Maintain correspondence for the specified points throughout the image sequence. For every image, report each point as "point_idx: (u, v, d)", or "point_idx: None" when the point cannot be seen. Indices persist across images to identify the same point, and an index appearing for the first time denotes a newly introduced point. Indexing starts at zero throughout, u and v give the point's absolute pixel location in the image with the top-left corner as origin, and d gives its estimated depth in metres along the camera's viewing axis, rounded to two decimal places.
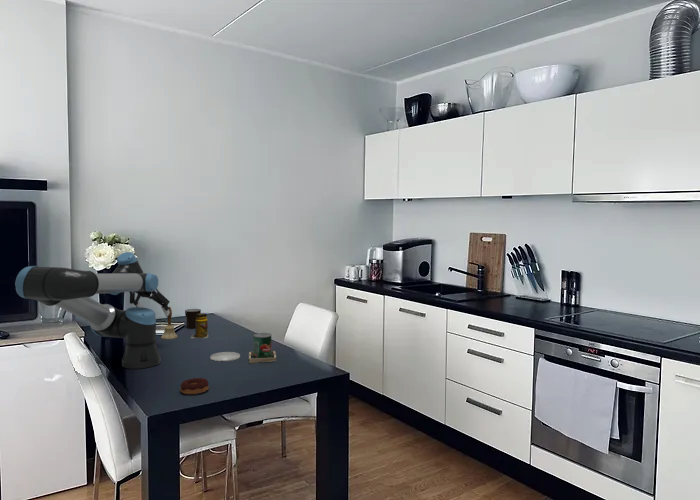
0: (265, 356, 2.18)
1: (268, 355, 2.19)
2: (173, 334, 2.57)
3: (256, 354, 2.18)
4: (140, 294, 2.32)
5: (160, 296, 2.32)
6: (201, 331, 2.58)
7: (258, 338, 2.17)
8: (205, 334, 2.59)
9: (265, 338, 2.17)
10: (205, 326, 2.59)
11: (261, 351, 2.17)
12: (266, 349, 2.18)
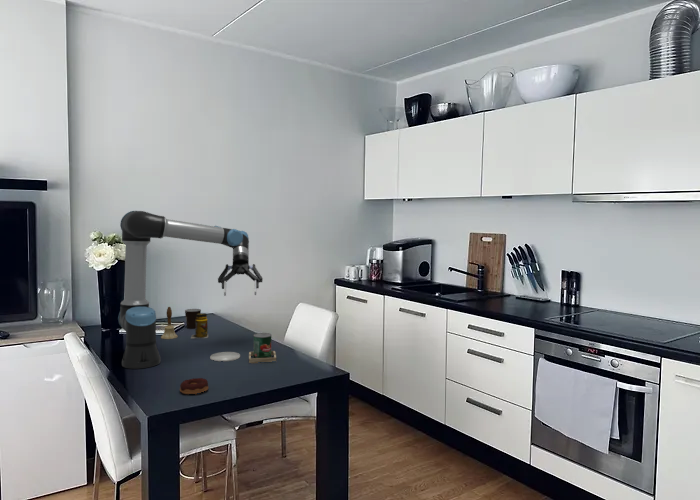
0: (265, 356, 2.18)
1: (268, 355, 2.19)
2: (173, 334, 2.57)
3: (256, 354, 2.18)
4: (239, 266, 2.36)
5: None
6: (201, 331, 2.58)
7: (258, 338, 2.17)
8: (205, 334, 2.59)
9: (265, 338, 2.17)
10: (205, 326, 2.59)
11: (261, 351, 2.17)
12: (266, 349, 2.18)
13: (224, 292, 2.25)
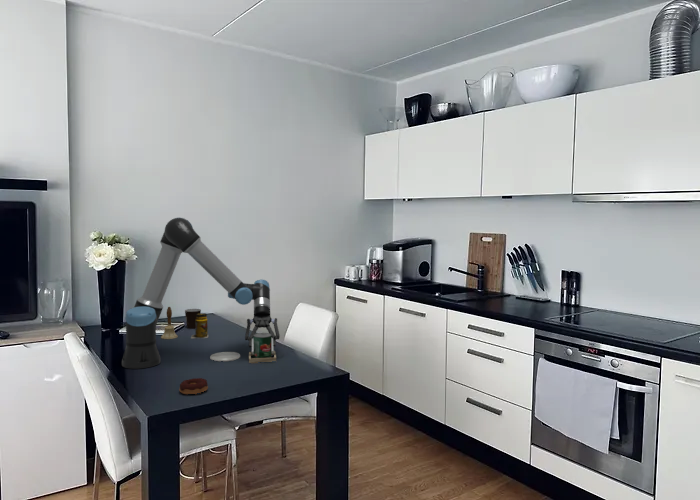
0: (265, 356, 2.18)
1: (268, 355, 2.19)
2: (173, 334, 2.57)
3: (256, 354, 2.18)
4: (260, 318, 2.27)
5: None
6: (201, 331, 2.58)
7: (258, 338, 2.17)
8: (205, 334, 2.59)
9: (265, 338, 2.17)
10: (205, 326, 2.59)
11: (261, 351, 2.17)
12: (266, 349, 2.18)
13: (252, 351, 2.16)
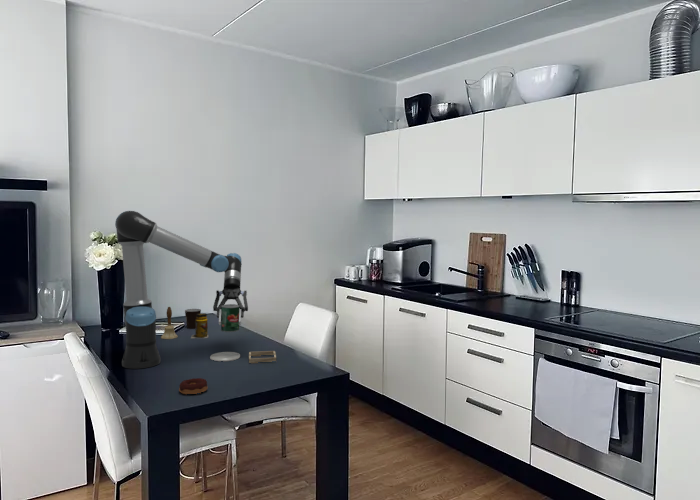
0: (232, 326, 2.19)
1: (235, 326, 2.20)
2: (173, 334, 2.57)
3: (223, 324, 2.19)
4: (229, 290, 2.28)
5: (246, 299, 2.28)
6: (201, 331, 2.58)
7: (225, 308, 2.18)
8: (205, 334, 2.59)
9: (232, 308, 2.19)
10: (205, 326, 2.59)
11: (229, 322, 2.18)
12: (234, 320, 2.19)
13: (219, 321, 2.17)
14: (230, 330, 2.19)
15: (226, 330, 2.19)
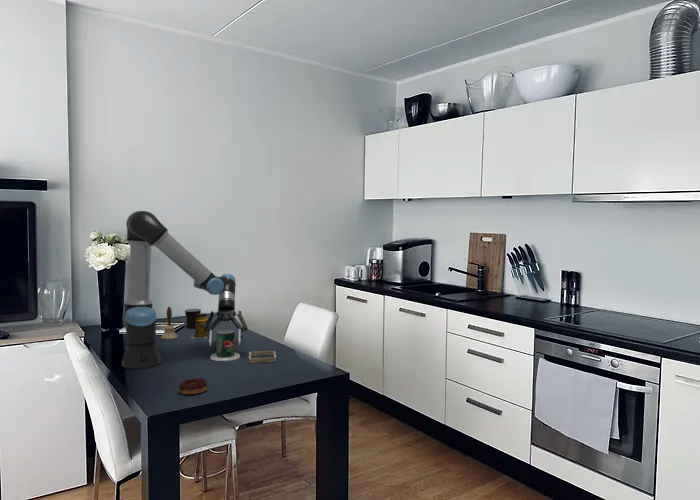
0: (228, 352, 2.20)
1: (231, 351, 2.21)
2: (173, 334, 2.57)
3: (219, 350, 2.20)
4: (224, 312, 2.29)
5: None
6: (201, 331, 2.58)
7: (220, 334, 2.19)
8: (205, 334, 2.59)
9: (227, 334, 2.20)
10: None
11: (224, 348, 2.20)
12: (229, 345, 2.20)
13: (209, 342, 2.19)
14: (225, 356, 2.20)
15: (221, 356, 2.20)
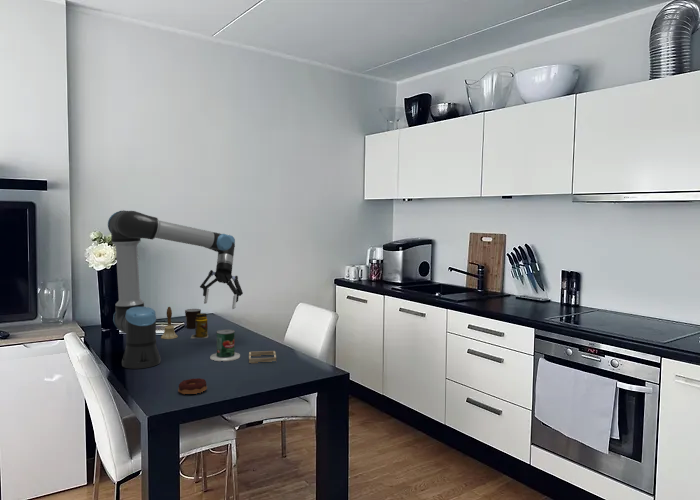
0: (228, 352, 2.20)
1: (231, 351, 2.21)
2: (173, 334, 2.57)
3: (219, 350, 2.20)
4: (223, 275, 2.40)
5: None
6: (201, 331, 2.58)
7: (221, 334, 2.19)
8: (205, 334, 2.59)
9: (227, 334, 2.20)
10: (205, 326, 2.59)
11: (224, 348, 2.19)
12: (229, 346, 2.20)
13: (206, 301, 2.30)
14: (225, 356, 2.20)
15: (221, 356, 2.20)
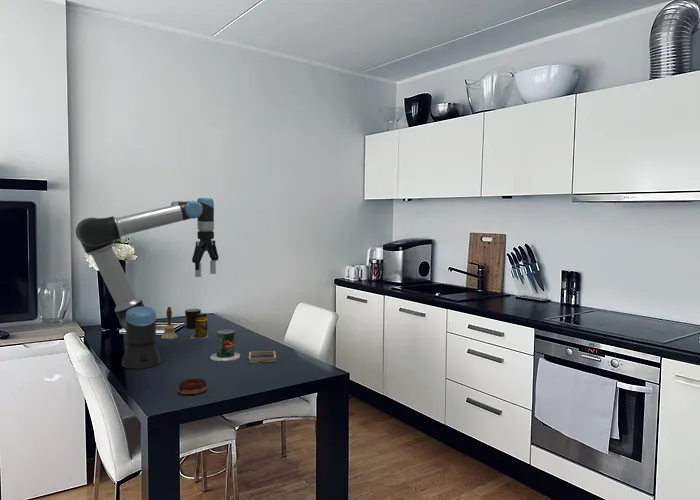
0: (228, 352, 2.20)
1: (231, 351, 2.21)
2: (173, 334, 2.57)
3: (219, 350, 2.20)
4: (208, 244, 2.36)
5: None
6: (201, 331, 2.58)
7: (220, 334, 2.19)
8: (205, 334, 2.59)
9: (227, 335, 2.20)
10: (205, 326, 2.59)
11: (224, 348, 2.19)
12: (229, 346, 2.20)
13: None
14: (225, 356, 2.20)
15: (221, 356, 2.20)
